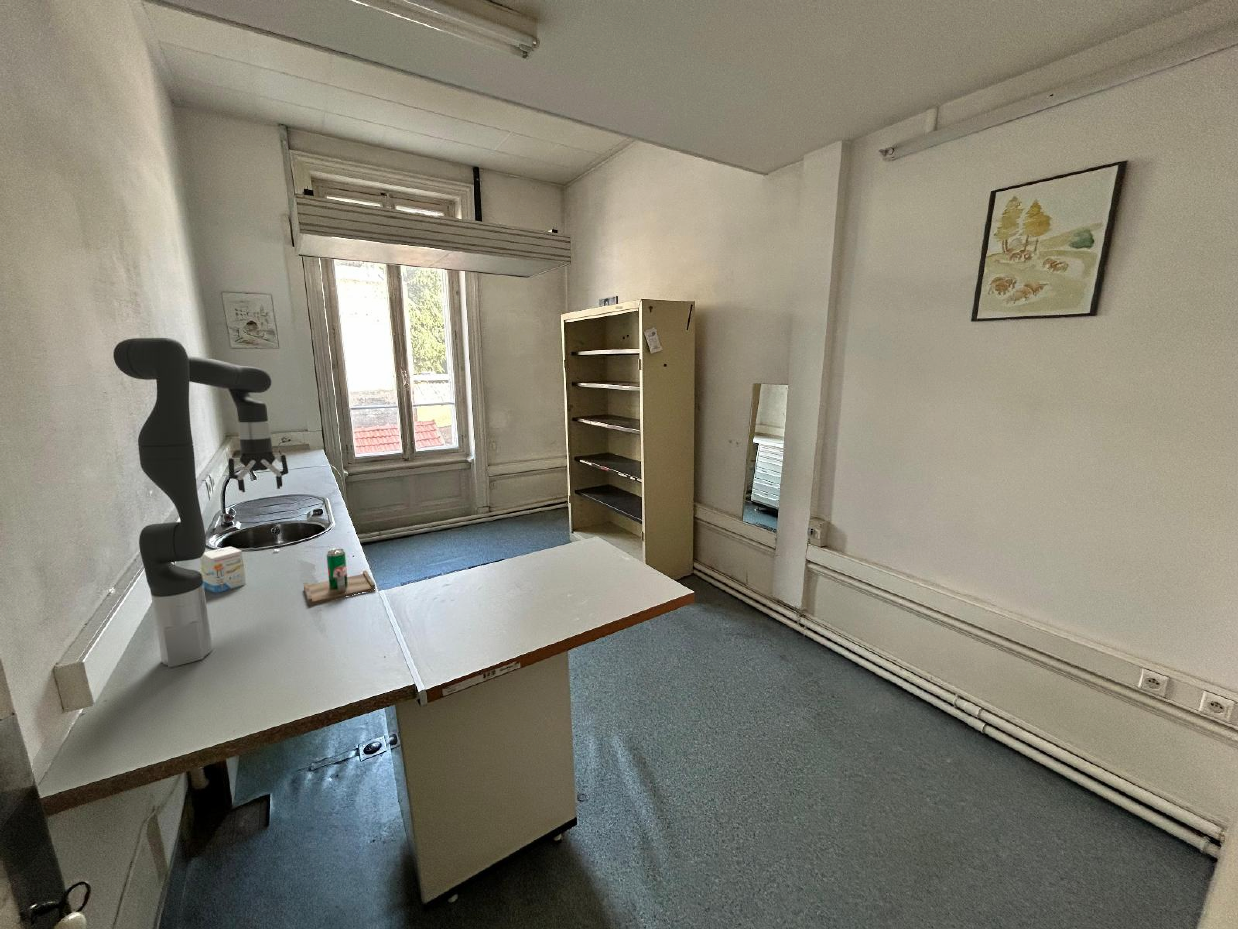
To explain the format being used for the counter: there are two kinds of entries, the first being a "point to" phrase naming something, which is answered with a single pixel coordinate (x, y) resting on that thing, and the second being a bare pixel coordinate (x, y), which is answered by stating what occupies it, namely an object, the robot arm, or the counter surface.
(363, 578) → the tray
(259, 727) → the counter surface
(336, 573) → the soda can
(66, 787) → the counter surface
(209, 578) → the ink box
